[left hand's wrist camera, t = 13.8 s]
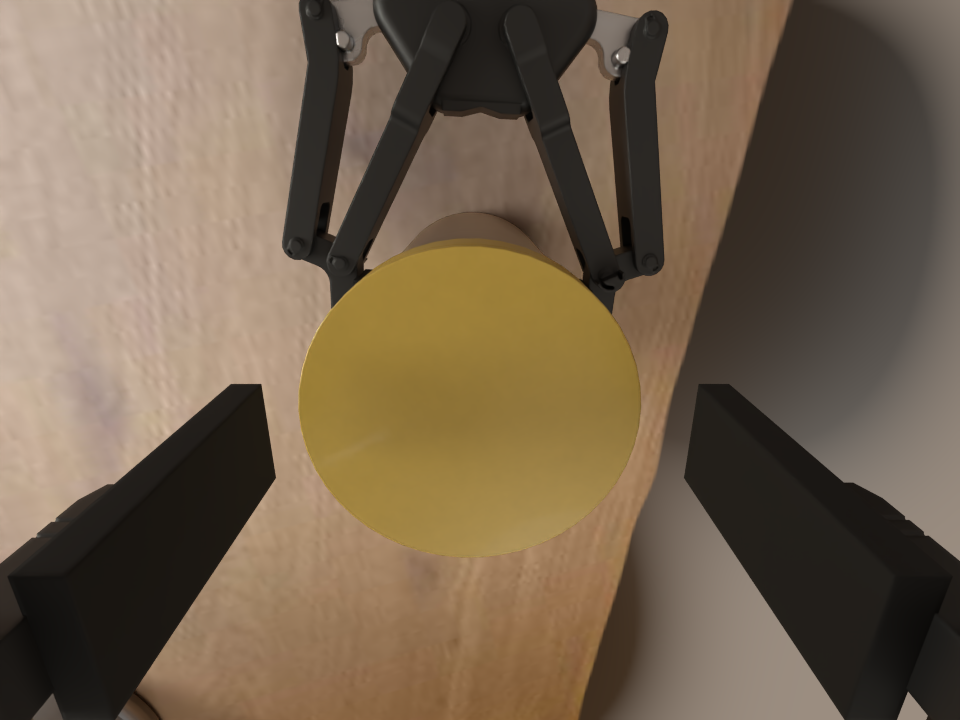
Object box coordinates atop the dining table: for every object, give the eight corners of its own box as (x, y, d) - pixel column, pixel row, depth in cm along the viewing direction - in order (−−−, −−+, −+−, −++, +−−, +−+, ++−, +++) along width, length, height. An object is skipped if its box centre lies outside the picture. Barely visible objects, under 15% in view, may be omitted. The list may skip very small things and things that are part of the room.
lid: (460, 569, 18) (459, 607, 17) (250, 383, 16) (225, 407, 14) (685, 405, 16) (708, 430, 15) (483, 162, 14) (484, 161, 12)
